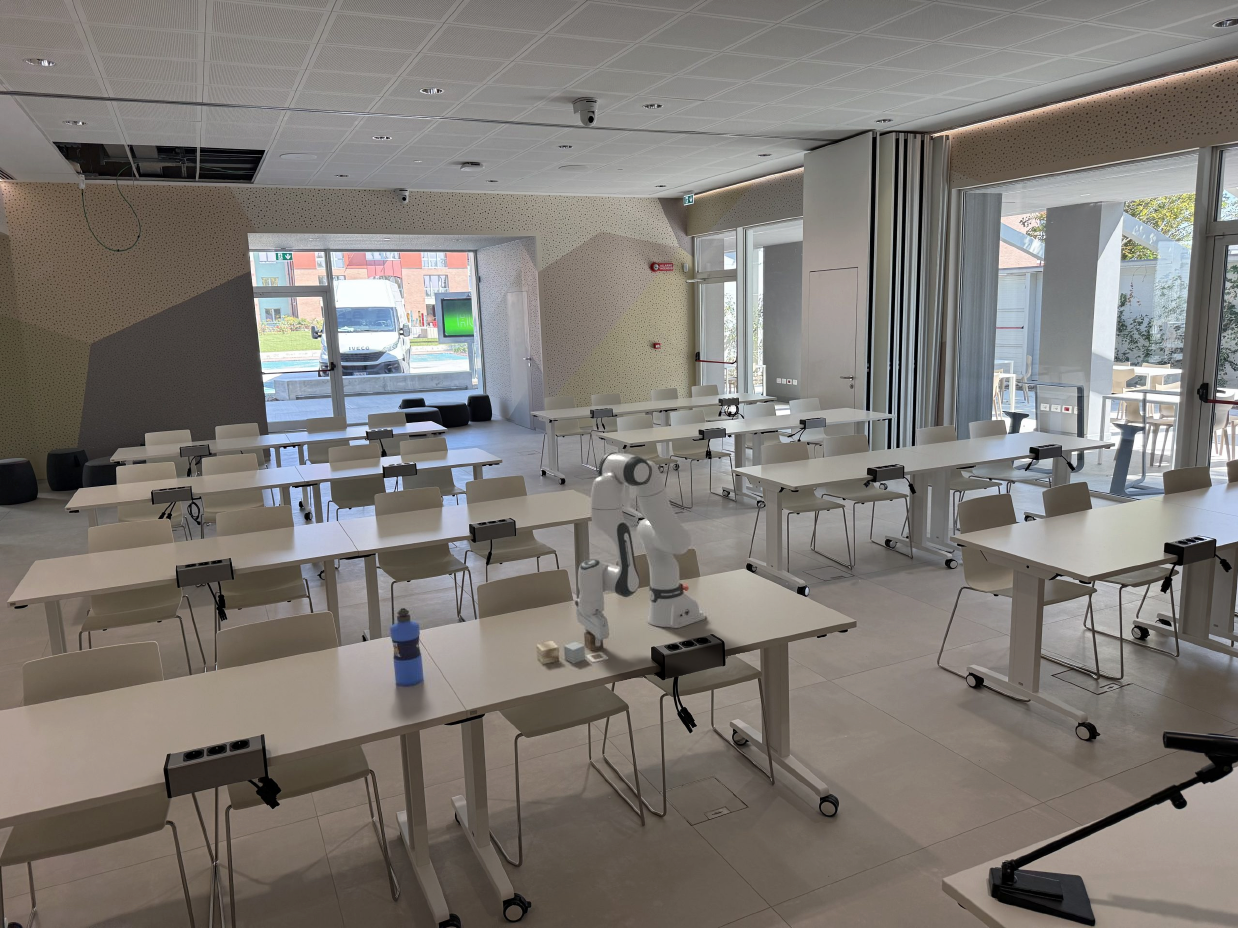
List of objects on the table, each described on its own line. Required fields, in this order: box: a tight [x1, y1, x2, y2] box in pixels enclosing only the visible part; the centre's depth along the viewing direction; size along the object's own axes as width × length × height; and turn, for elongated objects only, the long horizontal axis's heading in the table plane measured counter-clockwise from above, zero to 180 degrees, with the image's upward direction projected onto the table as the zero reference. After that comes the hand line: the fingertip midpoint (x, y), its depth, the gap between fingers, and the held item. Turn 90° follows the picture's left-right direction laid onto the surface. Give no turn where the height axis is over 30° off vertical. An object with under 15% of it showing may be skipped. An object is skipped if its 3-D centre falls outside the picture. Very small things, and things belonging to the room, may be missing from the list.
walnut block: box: [583, 631, 604, 652], centre depth 302 cm, size 5×5×5 cm
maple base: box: [535, 640, 560, 665], centre depth 293 cm, size 6×6×5 cm
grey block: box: [563, 641, 586, 664], centre depth 292 cm, size 5×5×5 cm
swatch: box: [585, 651, 609, 664], centre depth 293 cm, size 6×6×1 cm
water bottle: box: [389, 607, 424, 687], centre depth 279 cm, size 9×9×25 cm
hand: (593, 642), depth 302 cm, fingers closed on walnut block, 5 cm apart
